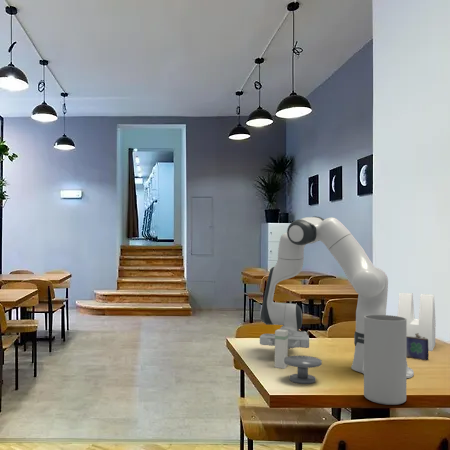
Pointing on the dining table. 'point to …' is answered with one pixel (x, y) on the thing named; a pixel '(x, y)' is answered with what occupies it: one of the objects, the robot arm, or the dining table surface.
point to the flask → (417, 347)
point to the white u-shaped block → (426, 316)
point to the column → (281, 348)
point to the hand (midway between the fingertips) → (282, 344)
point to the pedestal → (302, 368)
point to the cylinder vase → (385, 359)
